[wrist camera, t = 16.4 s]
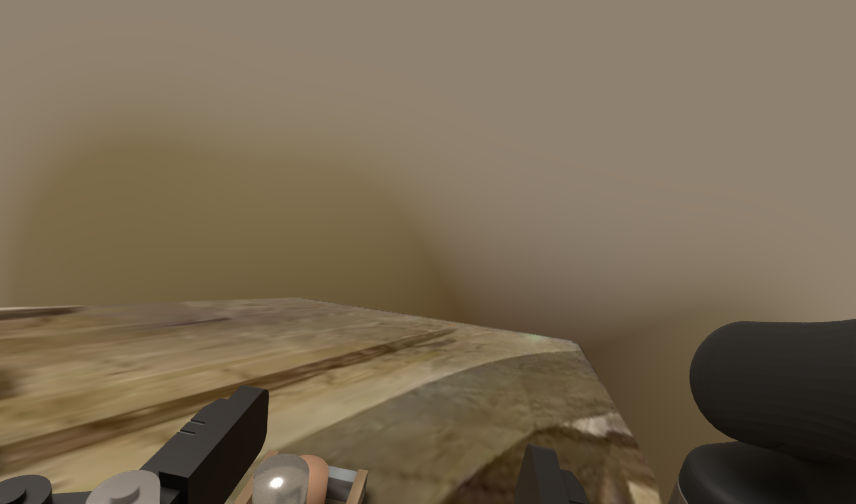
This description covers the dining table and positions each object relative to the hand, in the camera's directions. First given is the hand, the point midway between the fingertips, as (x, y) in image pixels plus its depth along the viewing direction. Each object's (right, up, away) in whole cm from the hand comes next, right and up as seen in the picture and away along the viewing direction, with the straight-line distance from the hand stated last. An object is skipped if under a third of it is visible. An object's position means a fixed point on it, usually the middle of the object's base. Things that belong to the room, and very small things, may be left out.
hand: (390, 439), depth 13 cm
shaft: (-14, -26, +28) cm, 40 cm away
